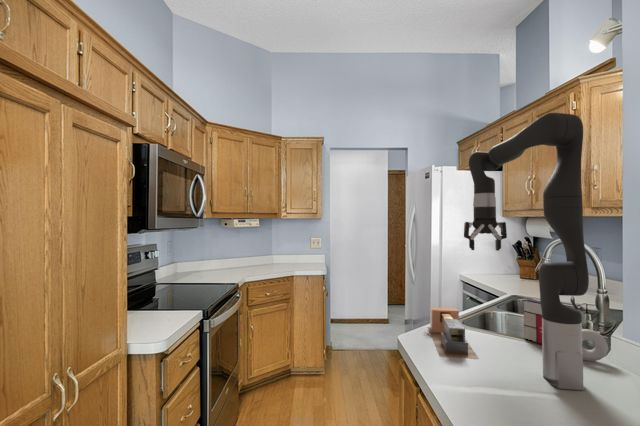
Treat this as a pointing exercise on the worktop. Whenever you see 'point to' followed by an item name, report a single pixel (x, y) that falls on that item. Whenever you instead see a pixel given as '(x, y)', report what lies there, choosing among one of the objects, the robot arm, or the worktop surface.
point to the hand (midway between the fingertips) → (485, 250)
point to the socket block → (435, 317)
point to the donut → (599, 342)
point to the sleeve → (454, 337)
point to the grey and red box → (533, 320)
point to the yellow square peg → (447, 316)
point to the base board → (437, 341)
